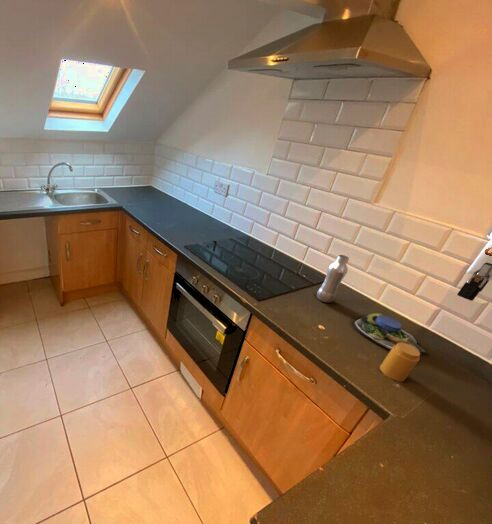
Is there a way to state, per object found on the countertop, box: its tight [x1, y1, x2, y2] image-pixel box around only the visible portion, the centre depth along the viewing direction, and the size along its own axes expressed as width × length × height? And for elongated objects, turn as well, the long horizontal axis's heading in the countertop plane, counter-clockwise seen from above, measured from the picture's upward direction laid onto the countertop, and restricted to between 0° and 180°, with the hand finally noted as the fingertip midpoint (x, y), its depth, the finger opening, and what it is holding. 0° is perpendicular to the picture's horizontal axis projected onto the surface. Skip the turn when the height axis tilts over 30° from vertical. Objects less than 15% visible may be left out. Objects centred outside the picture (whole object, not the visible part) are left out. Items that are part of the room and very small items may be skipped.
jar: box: [379, 343, 421, 382], centre depth 86 cm, size 6×6×10 cm
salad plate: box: [353, 312, 426, 353], centre depth 103 cm, size 19×18×5 cm
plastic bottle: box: [316, 254, 350, 304], centre depth 118 cm, size 6×7×20 cm
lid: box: [375, 314, 403, 332], centre depth 104 cm, size 7×7×2 cm
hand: (468, 293), depth 83 cm, fingers open, 9 cm apart
